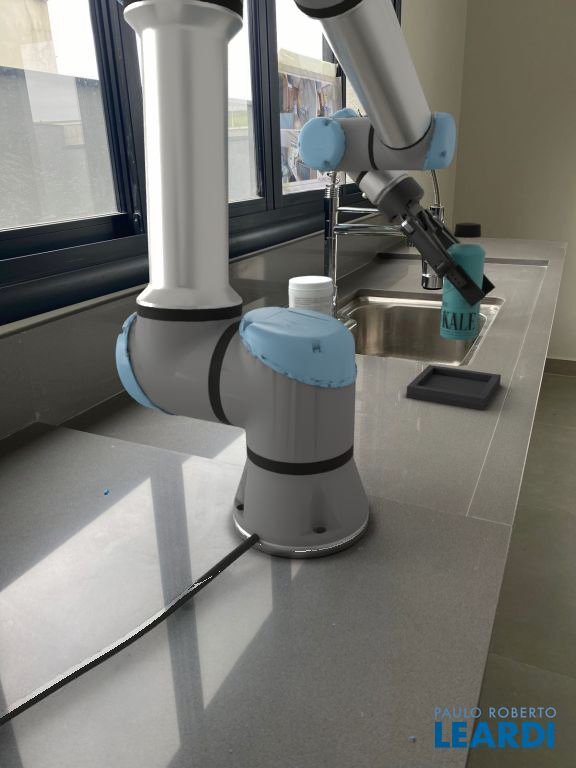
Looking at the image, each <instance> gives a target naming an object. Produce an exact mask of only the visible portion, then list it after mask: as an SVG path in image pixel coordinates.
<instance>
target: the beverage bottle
mask: <svg viewBox="0 0 576 768" xmlns="http://www.w3.org/2000/svg"><path fill="white" fill-rule="evenodd" d="M454 227H455V228H454V233H453V234H454V236H455V237H457V238H465V239H467V238H468V239H476V238H481V237H482V225H481V224H480V223H477V222H459V223H455V226H454ZM447 252H448V253H449V255H450V256H451V258H452V259H453V260H454V262H455V263H456V266H457V265H459V264H460V266H461V267H462V268H463V269H464V270H465V271H466V272H467V274H468V275H469V276H470V277H471V278H472V279H473V281H474V282H475V283H476V284H477V285H478V286H479V288H480V289H481V290H482V281H483V273H484V271H485V261H486V255H487V252H486V251H485V249H484V248H483V247H482V246H481V244H477V243H467V242H466V243H465V242H461V243H460V244H453V245H452V246H451V247H450V248H449V249H448V250H447ZM456 266H455V267H456ZM445 276H446V275H445ZM445 276H444V277H443V278H442V279H443V281H442V298H441V300H440V303H441V307H440V309H441V310H440V313H439V315H440V316H439V319H440V322H439V335H440V336H441V337H443V338H444V339H448V340H454V341H470V340H474V339H476V338H477V336H478V334H479V331H480V330H479V329H480V328H479V325H480V323H481V322H480V316H481V307H482V304H483V303H482V300H480V301H479V302H478V303H477V304H475V305H474V306H473V307H471V306H470V305H469V303H468V302H467V301H466V300H465V299H464V298H463V296H462V295H461V294H460V293H459V292H458V291H457V289H456V288H455V287H454V286H453V285H452V284H451V282H450V281H449V280H448V279H447V278H446V277H445Z"/></svg>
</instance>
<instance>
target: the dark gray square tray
mask: <svg viewBox="0 0 576 768" xmlns="http://www.w3.org/2000/svg"><path fill="white" fill-rule="evenodd" d="M501 377H502V374H498V373H490V372H483V371H477V370H469V369H462V368H455V367H447V366H442V365H441V366H440V365H434V364H428V365H427V366H426V367H425V368H424V369H423V370H422V371H421V372H420V373H419V374H418V375H417V376H416V377H415V378H413V380H412V381H411V382H410V383H409V384H408V385H407V386H406V395H405V396H406V398H410V399H416V400H421V401H427V402H433V403H440V404H445V405H450V406H457V407H463V408H469V409H474V410H475V409H476V410H481V411H485V410H486V408H487V406H488V405H489V403H490V401H491V400H492V398H493V397H494V396H495V394H496V392H497V390H498V389H499V387H500V386H501V379H502V378H501Z"/></svg>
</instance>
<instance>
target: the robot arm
mask: <svg viewBox="0 0 576 768" xmlns="http://www.w3.org/2000/svg"><path fill="white" fill-rule="evenodd" d="M116 1H117V2H118V3H119V4H120V5H122V8H123V9H122V10H123V19H124V21H125V22H126V23H127V24H128V25H129V26H130V27H131V29H132V30H133V31H134V32H135V33H136V34H137V35H138V37H139V40H140V60H141V85H142V106H143V107H142V109H143V110H142V111H143V114H142V115H143V136H144V137H143V139H144V141H143V142H144V162H145V165H144V167H145V190H146V191H145V192H146V216H147V242H148V244H147V246H148V271H149V283H148V285H147V286H146V288H145V289H143V291H142V292H141V293H140V294H139V295H138V296H137V297H136V301H135V303H136V311H135V312H133V313H132V314H131V315H129V317H127V319H125V321H124V323H123V324H122V327H121V328H122V333H119V334H118V336H117V339H116V345H115V363H116V364H115V365H116V368H117V373H118V376H119V379H120V381H121V384H122V385H123V387H124V389H125V391H126V392H127V393H128V394H129V395H130V397H131V398H132V399H134V400H135V401H136V403H139V404H140V405H142V406H144V407H146V408H149V409H152V410H156V411H159V412H161V413H163V414H165V415H169V416H176V417H178V416H180V417H186V418H189V419H190V418H191V419H195V420H199V421H206V422H211V423H216V424H221V425H226V426H231V427H235V428H236V427H237V428H240V429H243V430H244V431H245V445H246V447H245V448H246V449H245V450H246V460H245V463H244V467H243V470H242V472H241V476H240V480H239V483H238V486H237V489H236V492H235V494H234V495H235V496H234V498H233V504H232V505H233V507H232V520H233V521H232V522H233V526H234V530H235V532H236V533H237V536H239V538H240V539H241V540H242V541H243V542H241V543H240V544H238V545H237V546H236V547H235V548H234V549H233V550H232V551H230V552H229V553H228V554H227V555H225V556H224V557H223V558H222V559H221V560H219V561H218V562H217V563H216V564H215V565H213V566H212V567H211V568H210V569H209V570H208V571H206V572H205V573H204V574H203V575H202V576H200V577H199V578H198V579H196V581H197V582H196V581H194V582H195V583H194V582H193V583H194V584H197V583H200V582H203V581H204V580H206V579H207V580H206V581H204V582H203V583H201V584H200V585H198V586H197V587H196V588H194V589H193V590H192V591H190V592H189V593H187V594H186V595H184V596H183V597H182V598H181V599H179V600H178V601H177V602H176V603H175V604H174V605H172V606H171V607H170V608H169V609H168V610H167V611H166V612H164V613H163V614H162V615H161V616H160V617H158V618H157V619H156V620H154V621H153V622H152V623H151V624H149V625H148V626H146V627H145V628H144V629H142V630H141V631H139V632H138V633H137V634H135V635H134V636H132V637H131V638H129V639H128V640H126V641H125V642H123V643H121V644H120V645H118V646H117V647H115V648H114V649H112V650H110V651H109V652H107V653H105V654H104V655H102V656H100V657H99V658H97V659H95V660H94V661H92V662H90V663H89V664H87V665H85V666H84V667H82V668H80V669H79V670H77V671H75V672H74V673H72V674H71V675H69V676H67V677H66V678H64V679H62V680H61V681H59V682H58V683H56V684H54V685H53V686H51V687H50V688H48V689H46V690H45V691H43V692H42V693H40V694H38V695H37V696H35V697H34V698H32V699H30V700H29V701H27V702H26V703H24V704H22V705H21V706H19V707H18V708H16V709H14V710H13V711H11V712H10V713H8V714H6V715H5V716H3V717H2V718H0V727H2V726H4V725H5V724H7V723H8V722H9V721H11V720H12V719H15V718H16V717H18V716H19V715H21V714H22V713H24V712H25V711H27V710H28V709H30V708H32V707H33V706H35V705H37V704H38V703H39V702H41V701H43V700H45V699H46V698H47V697H49V696H51V695H52V694H53V693H56V692H57V691H59V690H60V689H62V688H63V687H65V686H67V685H69V683H71V682H73V681H75V680H77V679H78V678H79V677H82V676H83V675H85V674H86V673H87V672H89V671H91V670H92V669H94V668H96V667H98V666H99V665H102V663H104V662H106V661H108V660H109V659H110V658H112V657H114V656H115V655H118V653H120V652H121V651H123V650H125V649H127V647H129V646H131V645H132V644H134V643H135V642H136V641H138V640H139V639H141V638H143V637H144V636H145V635H147V634H148V633H149V632H150V631H152V630H153V629H155V628H156V627H157V626H159V625H160V624H161V623H162V622H164V621H166V620H167V619H168V618H169V617H170V616H171V615H173V614H174V613H175V612H176V611H178V610H179V609H180V608H181V607H182V606H184V605H185V604H186V603H187V602H188V601H189V600H191V599H192V598H193V597H194V596H196V594H198V593H199V592H200V591H201V590H203V589H204V588H205V587H206V586H207V585H209V584H210V583H211V582H212V581H213V580H214V579H216V578H217V577H218V576H220V574H222V573H223V572H224V571H225V570H227V568H229V566H231V565H232V564H233V563H234V562H236V561H237V560H238V559H239V558H240V557H242V556H243V555H244V554H245V553H247V551H249V550H250V549H251V548H254V549H256V550H258V551H261V552H263V553H265V554H269V555H273V556H278V557H284V558H290V559H291V558H293V559H296V558H297V559H309V558H319V557H324V556H328V555H332V554H335V553H338V552H340V551H343V550H346V549H348V548H349V547H351V546H352V545H354V544H355V543H357V542H358V541H359V540H360V539H361V538H362V537H363V536H364V534H365V533H366V531H367V529H368V527H369V526H368V525H369V520H370V519H369V517H370V516H369V515H370V514H369V513H370V508H369V501H368V497H367V494H366V491H365V488H364V485H363V482H362V479H361V476H360V472H359V470H358V467H357V463H356V461H355V458H354V457H355V455H354V454H355V453H354V452H355V451H354V447H355V425H356V423H355V420H356V391H357V390H356V388H357V385H356V384H357V377H358V372H359V371H358V365H357V363H356V362H357V361H356V342H355V341H356V340H355V337H354V335H353V333H352V331H351V330H350V328H349V327H348V326H346V325H345V324H344V322H342V321H341V320H339V319H337V318H335V317H334V316H333V317H331V316H329V315H326V314H323V313H320V312H316V311H312V310H307V309H301V308H293V307H289V306H288V307H280V306H265V307H259V308H255V309H251V310H250V311H248V312H246V313H245V314H244V315H243V297H241V296H240V295H239V294H238V292H236V291H235V289H233V287H232V286H231V284H230V283H229V282H230V279H229V276H230V275H229V274H230V273H229V272H230V271H229V269H230V268H229V267H230V265H229V260H230V259H229V256H230V255H229V254H230V251H229V249H230V248H229V247H230V246H229V245H230V244H229V241H230V240H229V233H230V231H229V230H230V229H229V44H230V42H231V41H232V40H233V39H234V38H235V37H236V36H237V35H238V34H239V33H240V32H241V31H242V29H243V28H244V0H116ZM293 2H294V4H295V6H296V7H297V9H298V10H299V12H300V13H301V14H302V15H303V16H305V17H307V18H308V19H311V20H315V21H316V23H317V24H318V27H319V28H320V30H321V32H322V34H323V35H324V38H325V39H326V41H327V43H328V45H329V47H330V48H331V50H332V52H333V54H334V57H335V58H336V60H337V61H338V64H339V66H340V67H341V69H342V71H343V73H344V75H345V77H346V79H347V80H348V83H349V84H350V87H351V88H352V90H353V92H354V94H355V96H356V97H357V99H358V102H359V103H360V105H361V107H362V109H363V110H364V112H365V114H366V116H360V115H359V114H358V113H357V112H356V111H355V110H354V109H353V108H351V107H344V108H342V109H339V110H337V111H335V112H334V113H333V114H332V115H328V116H317V117H313V118H310V120H308V121H307V122H305V123H304V125H303V126H302V127H301V129H300V130H299V134H298V137H297V142H296V143H297V144H296V145H297V152H298V156H299V158H300V160H301V162H302V163H303V164H304V165H305V166H306V167H307V168H309V169H311V170H314V171H318V172H319V173H330V172H344V173H345V174H346V175H347V176H348V177H349V178H350V180H351V181H352V182H353V183H354V184H355V185H356V186H357V188H358V189H359V190H360V191H361V192H362V198H364V199H368V200H369V201H370V202H371V203H372V205H375V206H376V210H377V211H378V212H379V213H380V215H381V216H382V217H383V218H384V219H385V220H386V221H387V223H389V224H394V223H397V222H398V221H401V224H400V225H399V226H398V227H397V228H398V230H399V232H401V233H402V234H403V235H404V236H405V237H406V238H407V239H408V240H409V242H410V243H411V244H412V246H413V247H414V248H415V249H416V250H417V251H418V253H419V254H420V255H421V256H422V258H423V259H424V260H425V262H426V263H427V264H428V265H429V266H430V268H431V269H432V270H433V272H434V273H435V274H436V277H437V278H438V279H440V280H441V279H444V278H443V277H444V276H445V275H446V276H445V277H446V278H447V279H448V280H449V281H450V282H451V284H452V285H453V286H454V287H455V288H456V289H457V291H458V292H459V293H460V294H461V295H462V296H463V298H464V299H465V300H466V301H467V302H468V303H469V305H470V306H471V307H473V306H474V305H475V304H477V303H478V302H479V301H480V300H481V301H482V300H483V299H484V298H486V297H487V295H488V294H489V293H491V292H492V291H493V290H494V289H496V286H495V285H494V284H493V282H492V281H491V279H489V278H488V276H487V275H486V274H485V273H484V272H483V281H482V290H481V289H480V288H479V286H478V285H477V284H476V283H475V282H474V281H473V279H472V278H471V277H470V276H469V275H468V274H467V272H466V271H465V270H464V269H463V268H462V267H461V266H460V264H459V265H457V266H456V263H455V262H454V260H453V259H452V258H451V256H450V255H449V253H448V252H447V250H448V249H449V248H450V247H451V246H452V245H453V244H460V243H462V241H461V240H460V239H459V237H455V236H454V233H453V232H452V230H451V229H450V228H449V227H448V226H447V225H446V224H445V223H444V222H443V221H442V220H441V218H440V217H439V215H438V214H437V212H436V211H435V210H430V209H428V208H425V207H423V206H422V205H421V204H420V202H421V200H422V199H423V198H424V196H425V189H424V188H423V187H422V186H421V184H420V183H418V181H417V180H416V179H415V178H414V177H413V176H409V171H420V172H425V171H434V170H435V171H436V170H444V169H446V168H447V167H448V166H449V165H450V164H451V163H452V160H453V157H454V154H455V150H456V149H455V148H456V140H457V139H456V137H457V129H456V121H455V119H454V116H453V115H452V114H450V113H448V112H439V111H434V112H431V109H430V107H429V104H428V101H427V99H426V96H425V93H424V91H423V87H422V84H421V82H420V79H419V75H418V72H417V70H416V68H415V65H414V61H413V59H412V56H411V54H410V51H409V47H408V45H407V42H406V39H405V36H404V34H403V30H402V27H401V24H400V22H399V19H398V16H397V14H396V10H395V7H394V5H393V1H392V0H293ZM455 266H456V267H455ZM234 522H235V523H234ZM366 523H367V524H366ZM235 524H236V525H235ZM365 525H366V526H365ZM236 526H237V527H236ZM364 526H365V527H364ZM363 528H364V529H363ZM362 529H363V530H362ZM239 530H240V531H241V532H242V533H243V534H244V535H243V534H242V533H241V532H240V531H239ZM361 530H362V531H361ZM360 531H361V532H360ZM359 532H360V533H359ZM358 533H359V534H358ZM357 534H358V535H357ZM355 535H357V536H355ZM353 536H355V537H354V538H353V539H351V540H349V541H347V542H345V543H343V541H346V540H348V539H350V538H352V537H353ZM247 537H248V538H247ZM340 543H343V544H341V545H338V546H335V547H332V546H334V545H337V544H340ZM260 544H261V545H260ZM330 546H331V547H332V548H328V547H330ZM323 548H328V549H323ZM319 549H323V550H319ZM306 550H311V551H306ZM312 550H317V551H312ZM295 551H306V552H295ZM219 571H220V572H219ZM211 576H212V577H211ZM209 577H211V578H209ZM208 578H209V579H208ZM193 583H192V584H193ZM192 584H191V585H192ZM194 584H193V585H192V586H191V585H190V586H191V587H190V588H192V587H194V586H195V585H194ZM190 588H189V589H190ZM189 589H188V590H189ZM180 594H181V593H179V594H178V595H177V596H179V595H180ZM174 599H175V598H173V599H172V600H174Z"/></svg>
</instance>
